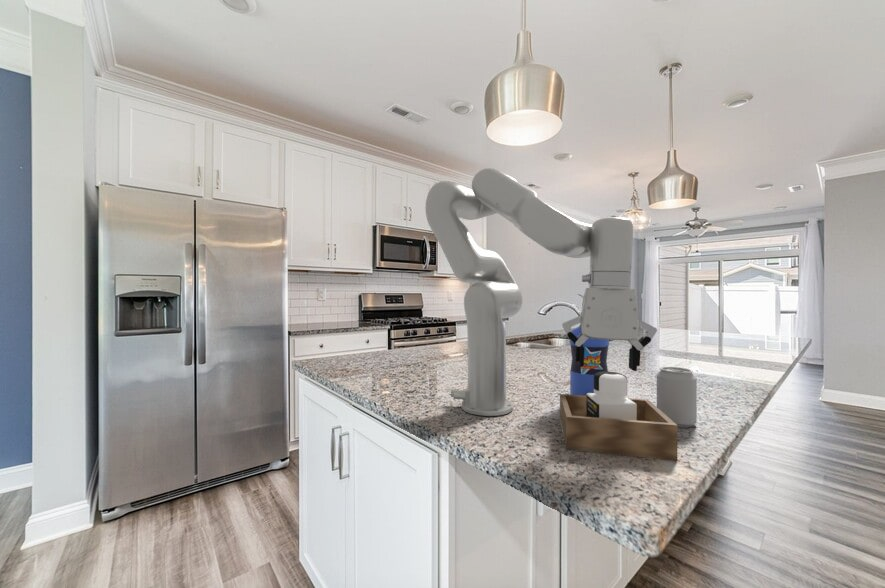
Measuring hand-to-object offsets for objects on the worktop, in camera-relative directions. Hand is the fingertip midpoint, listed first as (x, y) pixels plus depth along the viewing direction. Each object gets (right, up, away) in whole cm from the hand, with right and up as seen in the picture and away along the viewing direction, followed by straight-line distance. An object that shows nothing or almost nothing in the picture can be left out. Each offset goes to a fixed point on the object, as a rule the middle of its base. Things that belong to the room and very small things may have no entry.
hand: (606, 367), depth 73 cm
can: (+19, -14, +8) cm, 25 cm away
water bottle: (+5, -14, +20) cm, 25 cm away
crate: (+1, -14, -1) cm, 14 cm away
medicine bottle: (+1, -13, -1) cm, 13 cm away
